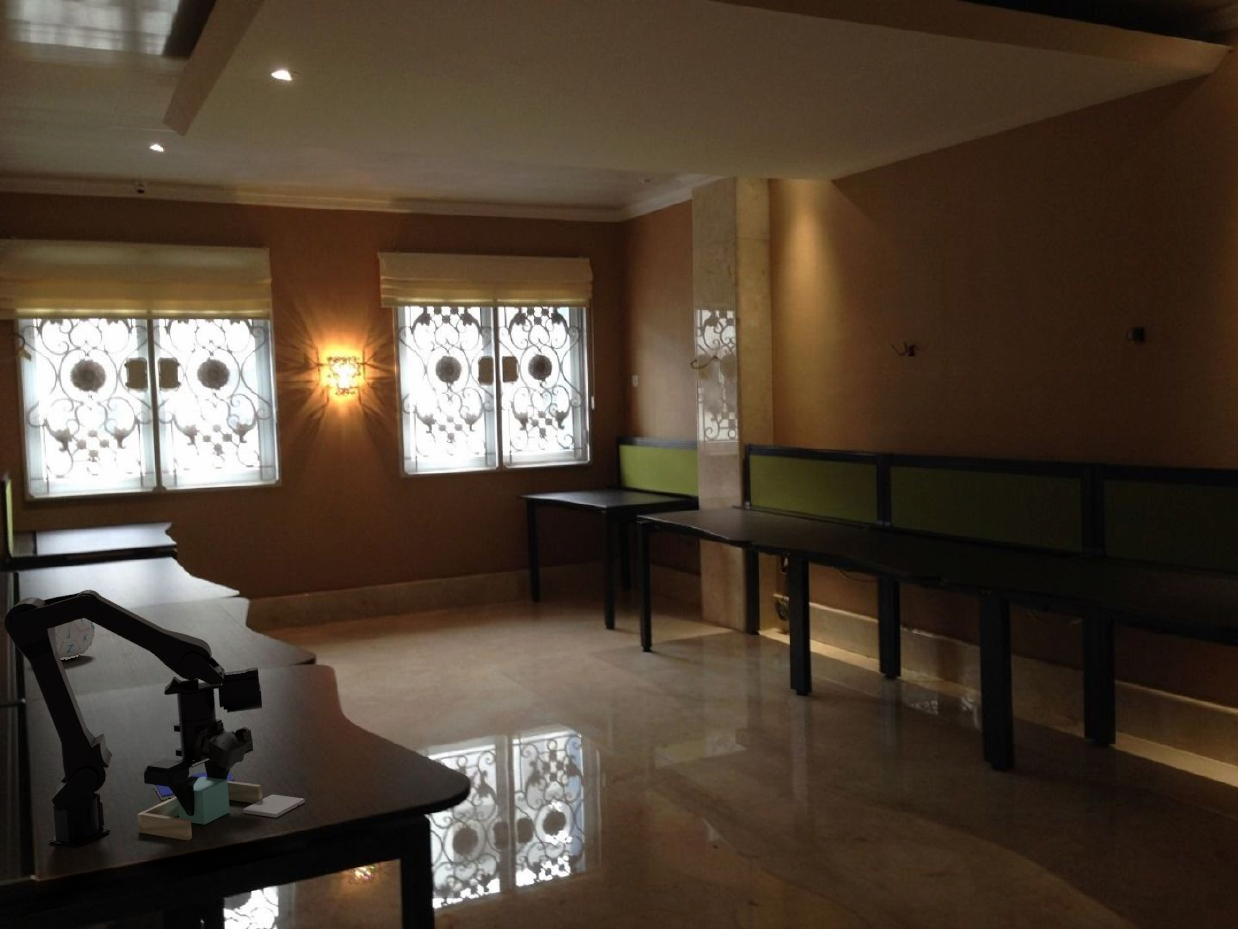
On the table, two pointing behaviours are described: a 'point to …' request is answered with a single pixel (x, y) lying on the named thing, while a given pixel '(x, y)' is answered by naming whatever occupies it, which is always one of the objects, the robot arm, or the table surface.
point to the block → (208, 800)
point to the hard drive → (167, 793)
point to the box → (166, 824)
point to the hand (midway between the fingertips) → (204, 809)
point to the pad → (273, 805)
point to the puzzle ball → (74, 637)
